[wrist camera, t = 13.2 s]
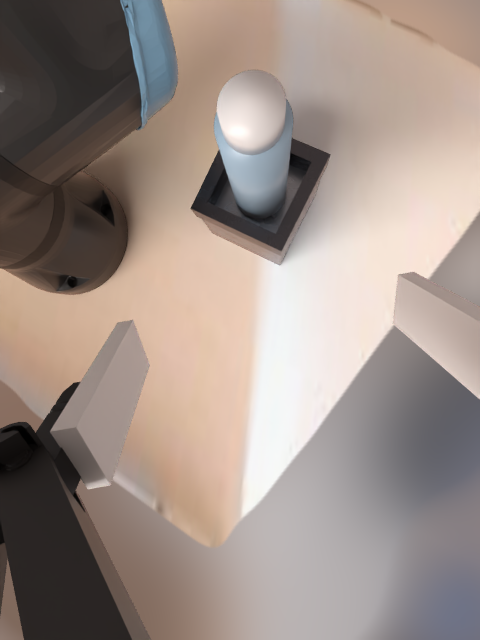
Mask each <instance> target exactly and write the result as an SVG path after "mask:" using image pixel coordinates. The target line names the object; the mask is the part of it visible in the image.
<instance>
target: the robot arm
mask: <svg viewBox="0 0 480 640" xmlns="http://www.w3.org/2000/svg"><path fill="white" fill-rule="evenodd" d="M177 83H178V64H177V57H176V52H175V47H174V43H173V38H172V34H171V30H170V27H169V23H168V20H167V16H166V13H165V10H164V6H163V3H162V0H0V268H2V269H4V270H6V271H8V272H9V273H11V274H13V275H15V276H16V277H18V278H20V279H22V280H23V281H25V282H27V283H29V284H30V285H32V286H34V287H36V288H38V289H41V290H44V291H47V292H52V293H59V294H68V295H75V294H81V293H85V292H88V291H91V290H93V289H95V288H97V287H99V286H100V285H102V284H103V283H104V282H105V281H107V280H108V279H109V278H110V277H111V276H112V274H113V273H114V272H115V270H116V269H117V267H118V266H119V264H120V262H121V260H122V258H123V255H124V252H125V248H126V243H127V224H126V219H125V215H124V212H123V209H122V207H121V205H120V203H119V201H118V200H117V198H116V197H115V196H114V195H113V193H112V192H111V191H110V190H109V189H108V188H106V187H105V186H104V185H102V184H101V183H100V182H99V181H97V180H96V179H95V178H93V177H91V176H90V175H88V174H86V173H84V172H81V170H82V169H84V168H85V167H86V166H88V165H89V164H90V163H92V162H93V161H94V160H96V159H97V158H98V157H99V156H101V155H102V154H103V153H105V152H106V151H107V150H109V149H110V148H111V147H113V146H114V145H115V144H117V143H118V142H119V141H121V140H122V139H123V138H125V137H126V136H127V135H129V134H130V133H131V132H133V131H134V130H135V129H136V130H141V129H143V128H144V126H145V125H146V123H147V120H149V119H150V118H151V117H152V116H153V115H154V114H156V113H157V112H158V111H159V110H160V109H162V108H163V107H164V106H165V105H166V104H168V103H169V102H170V100H171V99H172V98H173V96H174V93H175V89H176V86H177ZM393 324H394V325H395V326H396V327H397V328H398V329H400V330H401V331H402V332H403V333H404V334H405V335H407V336H408V337H409V338H410V339H411V340H412V341H413V342H415V343H416V344H417V345H418V346H419V347H420V348H421V349H423V350H424V351H425V352H426V353H427V354H428V355H429V356H431V357H432V358H433V359H434V360H435V361H436V362H437V363H439V364H440V365H441V366H442V367H443V368H444V369H445V370H447V371H448V372H449V373H450V374H452V376H454V377H455V378H456V379H457V380H458V381H459V382H460V383H462V384H463V385H464V386H465V387H466V388H467V389H468V390H470V391H471V392H472V393H473V394H474V395H476V397H478V398H479V399H480V306H478V305H476V304H474V303H472V302H470V301H468V300H466V299H464V298H463V297H461V296H459V295H457V294H455V293H453V292H451V291H449V290H447V289H445V288H443V287H441V286H439V285H438V284H436V283H434V282H432V281H430V280H428V279H426V278H424V277H422V276H420V275H419V274H417V273H415V272H410V273H405V274H399V275H398V281H397V290H396V298H395V307H394V316H393ZM149 366H150V364H149V362H148V359H147V356H146V354H145V351H144V348H143V345H142V343H141V340H140V337H139V335H138V332H137V329H136V326H135V324H134V321H133V320H130V321H124V322H119V323H117V325H116V326H115V328H114V329H113V331H112V333H111V334H110V336H109V337H108V339H107V341H106V342H105V344H104V345H103V347H102V349H101V350H100V352H99V353H98V355H97V357H96V358H95V360H94V361H93V363H92V365H91V366H90V368H89V369H88V371H87V373H86V374H85V376H84V378H83V379H82V381H81V382H76V383H73V384H72V385H71V386H70V387H69V388H67V389H66V390H65V391H64V392H63V393H62V394H61V396H60V397H59V399H58V400H57V402H56V405H54V406H53V408H52V409H51V411H50V413H49V414H48V415H47V417H46V418H45V420H44V421H43V423H42V424H41V426H40V427H39V429H38V430H37V432H36V433H35V431H34V430H33V429H32V427H31V426H30V425H29V424H28V423H27V422H17V423H13V424H10V425H7V426H5V427H3V428H1V429H0V614H1V606H2V598H3V590H4V582H5V573H6V565H7V557H8V561H9V566H10V571H11V576H12V581H13V586H14V591H15V596H16V601H17V606H18V611H19V616H20V621H21V626H22V631H23V636H24V640H151V639H150V637H149V635H148V633H147V631H146V629H145V627H144V625H143V623H142V621H141V619H140V617H139V615H138V613H137V611H136V609H135V607H134V605H133V603H132V601H131V599H130V597H129V594H128V592H127V591H126V589H125V587H124V585H123V582H122V581H121V578H120V576H119V574H118V573H117V570H116V569H115V566H114V564H113V562H112V560H111V558H110V556H109V554H108V552H107V550H106V548H105V547H104V544H103V542H102V540H101V538H100V536H99V534H98V532H97V530H96V528H95V526H94V524H93V522H92V520H91V518H90V516H89V514H88V512H87V510H86V508H85V506H84V504H83V502H82V500H81V498H80V496H79V495H78V494H77V492H76V488H77V486H78V483H79V481H80V479H81V480H82V481H83V483H84V484H85V486H86V487H87V488H88V489H91V488H97V487H103V486H109V485H111V482H112V479H113V476H114V473H115V470H116V467H117V464H118V461H119V458H120V455H121V452H122V449H123V446H124V443H125V439H126V436H127V433H128V430H129V427H130V424H131V421H132V418H133V415H134V412H135V409H136V406H137V403H138V400H139V397H140V393H141V390H142V387H143V384H144V381H145V378H146V375H147V372H148V369H149Z"/></svg>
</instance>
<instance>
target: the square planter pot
mask: <svg viewBox="0 0 480 640" xmlns="http://www.w3.org/2000/svg"><path fill="white" fill-rule="evenodd" d="M330 155H331V154H328V153H326V152H323V151H321V150H319V149H316V148H314V147H312V146H309V145H307V144H304V143H302V142H300V141H297V140H295V139H293V138H292V140H291V150H290V160H289V170H288V180H287V190H286V197H285V201H284V203H283V205H282V207H281V208H280V209H279V210H278V211H277V212H276V213H275V214H273V215H271V216H269V217H266V218H252V217H250V216H247V215H246V214H244V213H243V212H242V211H241V210H240V209H239V207H238V205H237V203H236V200H235V197H234V194H233V191H232V188H231V185H230V182H229V178H228V175H227V172H226V169H225V166H224V163H223V160H222V156H221V153H220V150H219V151H218V153H217V155H216V157H215V159H214V161H213V163H212V165H211V167H210V170H209V172H208V174H207V176H206V178H205V180H204V182H203V184H202V186H201V188H200V190H199V192H198V194H197V197H196V199H195V201H194V203H193V205H192V207H191V210H192V211H193V212H194V214H195V215H196V216H197V217H199V218H201V219H202V220H203V221H204V222H205V224H206V225H207V226H208V228H209V229H210V230H211V232H212V233H213V234H215V235H217V236H220V237H222V238H224V239H226V240H228V241H230V242H232V243H234V244H236V245H238V246H240V247H243V248H245V249H247V250H249V251H251V252H253V253H255V254H257V255H259V256H261V257H263V258H266V259H268V260H270V261H272V262H274V263H276V264H278V265H280V264H281V262H282V260H283V258H284V256H285V254H286V252H287V250H288V248H289V246H290V244H291V242H292V240H293V238H294V236H295V234H296V232H297V230H298V228H299V226H300V225H301V223H302V221H303V219H304V217H305V215H306V213H307V211H308V209H309V207H310V205H311V203H312V201H313V199H314V197H315V195H316V192H317V188H318V185H319V182H320V179H321V177H322V175H323V173H324V171H325V169H326V167H327V164H328V161H329V158H330Z"/></svg>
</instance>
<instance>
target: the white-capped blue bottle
mask: <svg viewBox="0 0 480 640" xmlns="http://www.w3.org/2000/svg"><path fill="white" fill-rule="evenodd" d="M292 130H293V113H292V109H291V106H290V104H289V102H288V100H287V99H286V95H285V91H284V89H283V87H282V85H281V83H280V82H279V81H278V80H277V79H276V78H275V77H274V76H273V75H271V74H269V73H267V72H265V71H261V70H248V71H244V72H241V73H239V74H237V75H235V76H234V77H232V78H231V79H230V80H229V81H228V82H227V83H226V84H225V85H224V87H223V88H222V90H221V92H220V94H219V97H218V100H217V112H216V116H215V120H214V133H215V137H216V141H217V144H218V147H219V150H220V153H221V156H222V160H223V163H224V166H225V169H226V172H227V175H228V178H229V182H230V185H231V188H232V191H233V194H234V197H235V200H236V203H237V205H238V207H239V209H240V210H241V211H242V212H243V213H244V214H246V215H247V216H250V217H252V218H266V217H269V216H271V215H273V214H275V213H276V212H277V211H278V210H279V209H280V208H281V207H282V205H283V203H284V201H285V197H286V190H287V180H288V170H289V160H290V150H291V140H292Z"/></svg>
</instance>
